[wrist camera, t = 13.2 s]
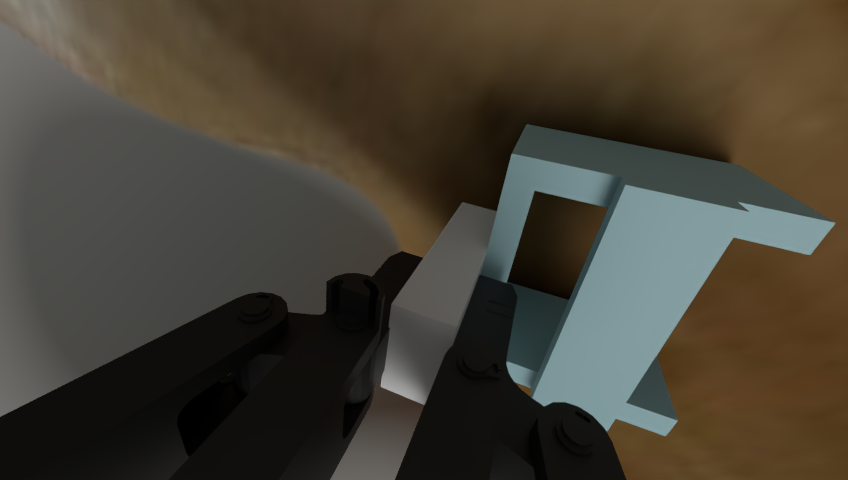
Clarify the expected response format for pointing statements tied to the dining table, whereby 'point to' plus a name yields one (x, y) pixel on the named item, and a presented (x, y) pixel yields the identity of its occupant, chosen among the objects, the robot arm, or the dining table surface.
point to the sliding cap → (628, 264)
